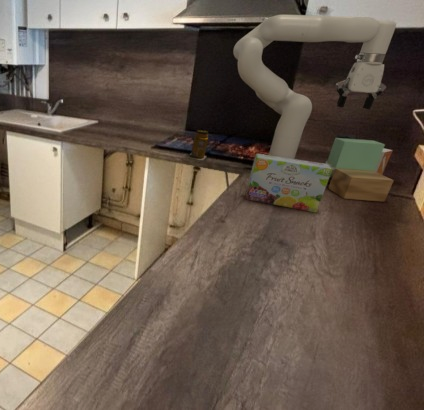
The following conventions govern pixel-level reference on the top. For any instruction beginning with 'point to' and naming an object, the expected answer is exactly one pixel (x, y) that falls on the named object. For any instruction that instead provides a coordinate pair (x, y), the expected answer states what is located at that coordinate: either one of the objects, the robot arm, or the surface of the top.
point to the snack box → (288, 182)
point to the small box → (383, 161)
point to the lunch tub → (355, 153)
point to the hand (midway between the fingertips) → (353, 107)
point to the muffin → (332, 169)
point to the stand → (360, 184)
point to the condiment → (199, 145)
